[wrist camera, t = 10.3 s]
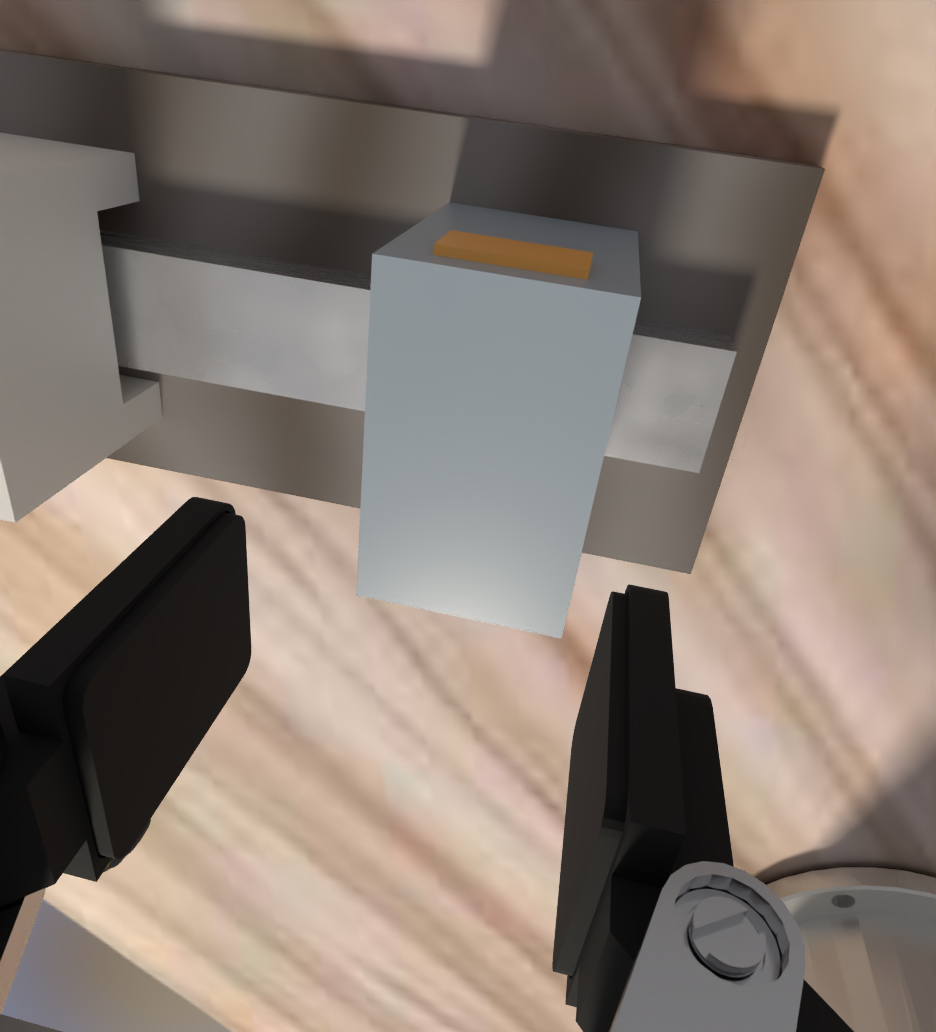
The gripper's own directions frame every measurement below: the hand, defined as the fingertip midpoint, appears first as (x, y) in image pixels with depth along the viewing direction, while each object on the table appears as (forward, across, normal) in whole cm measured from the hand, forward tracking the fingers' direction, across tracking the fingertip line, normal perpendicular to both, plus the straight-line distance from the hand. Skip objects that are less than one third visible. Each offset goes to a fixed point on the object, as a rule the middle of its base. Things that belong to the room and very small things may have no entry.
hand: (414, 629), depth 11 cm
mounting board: (+13, +6, 0) cm, 15 cm away
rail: (+13, +6, 0) cm, 15 cm away
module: (+12, 0, 0) cm, 12 cm away
